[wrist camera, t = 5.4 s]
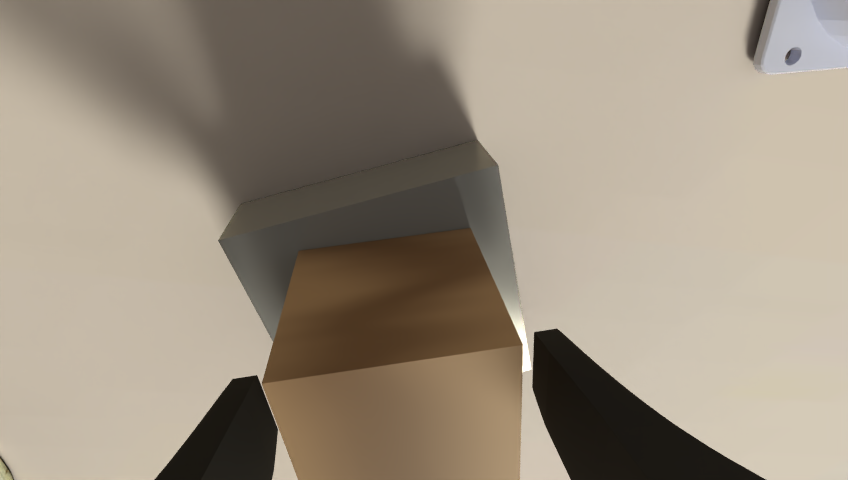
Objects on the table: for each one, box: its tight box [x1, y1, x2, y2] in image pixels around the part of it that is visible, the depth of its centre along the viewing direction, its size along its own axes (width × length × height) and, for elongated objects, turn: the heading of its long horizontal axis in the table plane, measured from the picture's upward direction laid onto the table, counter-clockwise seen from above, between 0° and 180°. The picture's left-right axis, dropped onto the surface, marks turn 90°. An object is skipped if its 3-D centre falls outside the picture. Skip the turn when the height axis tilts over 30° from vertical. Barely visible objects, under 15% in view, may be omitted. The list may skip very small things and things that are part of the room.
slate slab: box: [218, 140, 531, 372], centre depth 15 cm, size 8×8×3 cm
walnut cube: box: [262, 228, 523, 480], centre depth 12 cm, size 5×5×5 cm
